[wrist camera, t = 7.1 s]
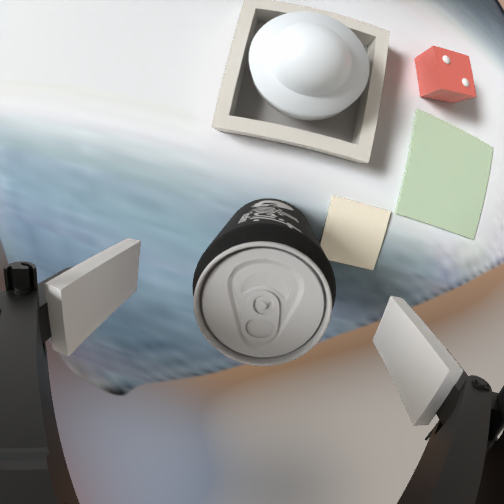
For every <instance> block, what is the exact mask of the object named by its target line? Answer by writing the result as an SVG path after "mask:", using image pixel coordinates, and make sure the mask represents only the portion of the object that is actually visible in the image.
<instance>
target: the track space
mask: <svg viewBox="0 0 504 504" xmlns="http://www.w3.org/2000/svg"><path fill="white" fill-rule="evenodd" d="M390 213H391V212H390V211H387V210H383V209H380V208H377V207H373V206H370V205H366V204H363V203H359V202H356V201H352V200H348V199H345V198H341V197H337V196H333V195H332V198H331V202H330V206H329V210H328V214H327V218H326V222H325V226H324V230H323V234H322V237H321V241H320V246H321V248H322V249H323V251H324V253H325V255H326V257H327V259H328V260H330V261H335V262H339V263H344V264H348V265H352V266H357V267H361V268H365V269H370V270H374V267H375V264H376V261H377V258H378V255H379V251H380V248H381V245H382V242H383V238H384V235H385V231H386V228H387V224H388V221H389V217H390Z"/></svg>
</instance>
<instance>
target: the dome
mask: <svg viewBox="0 0 504 504" xmlns="http://www.w3.org/2000/svg"><path fill="white" fill-rule="evenodd" d="M249 66H250V70H251V74H252V78H253V81H254V84H255V87H256V89H257V91H258V92H259V94H260V95H261V97H262V98H263V99H264V100H265V102H267V103H268V104H269V105H270V106H271V107H272V108H274V109H275V110H276V111H278V112H280V113H282V114H284V115H286V116H289V117H292V118H295V119H300V120H309V121H313V120H322V119H326V118H330V117H332V116H334V115H337V114H338V113H340V112H341V111H343V110H344V109H346V108H347V107H348V106H349V105H351V104H352V103H353V102H354V101H355V100H357V99H358V97H359V96H360V95H361V94H362V92H363V90H364V89H365V87H366V84H367V82H368V77H369V60H368V56H367V53H366V50H365V48H364V46H363V44H362V43H361V41H360V40H359V38H358V37H357V36H356V35H355V34H354V32H353V31H352V30H350V29H349V28H348V27H347V26H346V25H344V24H343V23H341V22H340V21H338V20H336V19H334V18H332V17H329V16H327V15H324V14H320V13H315V12H307V11H299V12H291V13H286V14H283V15H280V16H278V17H275V18H274V19H272V20H270V21H269V22H267V23H266V24H265V25H263V26H262V27H261V28H260V29H259V31H258V32H257V33H256V35H255V37H254V38H253V40H252V43H251V46H250V50H249Z"/></svg>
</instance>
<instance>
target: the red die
mask: <svg viewBox="0 0 504 504" xmlns="http://www.w3.org/2000/svg"><path fill="white" fill-rule="evenodd" d="M415 64H416V70H417V76H418V83H419V91H420V97H424V98H430V99H436V100H441V101H446V102H451V103H456V102H459V101H463V100H467V99H471V98H474V97H476V93H475V86H474V80H473V75H472V69H471V64H470V60H469V56H467V55H464V54H461V53H457V52H454V51H451V50H447V49H443V48H440V47H436V46H432V47H431V48H429V49H428V50H426V51H425V52H423V53H422V54H420V55H419V56H418V57H416V58H415Z"/></svg>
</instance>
